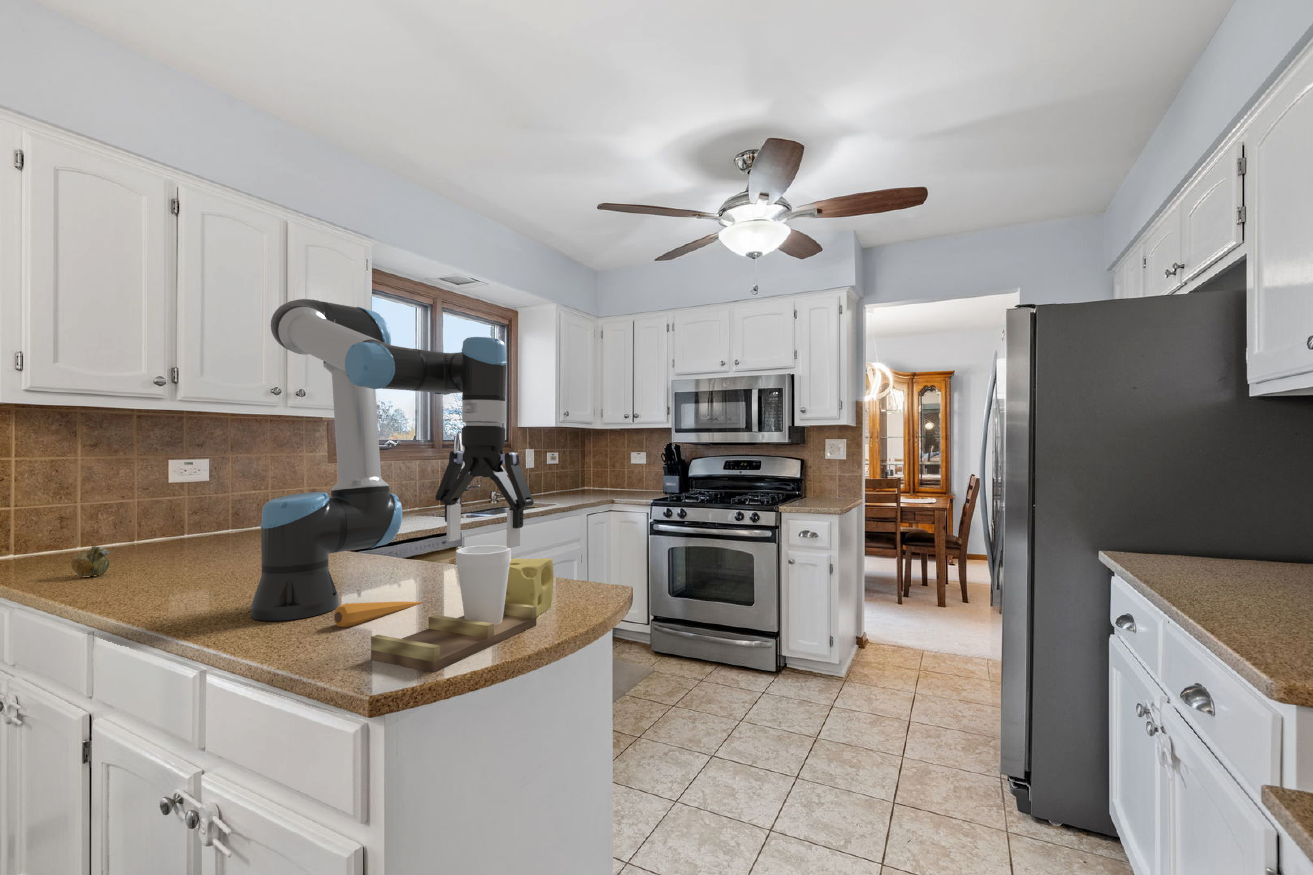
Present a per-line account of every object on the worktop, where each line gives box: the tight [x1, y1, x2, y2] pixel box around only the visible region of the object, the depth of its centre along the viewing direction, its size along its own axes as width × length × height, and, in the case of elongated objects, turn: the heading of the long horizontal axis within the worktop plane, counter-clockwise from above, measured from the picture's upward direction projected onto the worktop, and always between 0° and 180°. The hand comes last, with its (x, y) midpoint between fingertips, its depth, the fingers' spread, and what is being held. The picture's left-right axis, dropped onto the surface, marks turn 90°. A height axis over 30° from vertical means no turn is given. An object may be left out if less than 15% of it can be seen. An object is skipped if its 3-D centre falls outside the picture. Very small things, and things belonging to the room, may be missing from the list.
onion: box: [71, 545, 111, 577], centre depth 156 cm, size 8×8×8 cm
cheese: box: [505, 557, 555, 619], centre depth 121 cm, size 10×11×10 cm
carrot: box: [333, 601, 423, 628], centre depth 119 cm, size 20×4×4 cm, turn 154°
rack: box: [370, 602, 537, 673], centre depth 103 cm, size 13×25×4 cm, turn 155°
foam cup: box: [455, 544, 512, 626], centre depth 109 cm, size 10×9×13 cm
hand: (482, 543), depth 109 cm, fingers open, 13 cm apart
